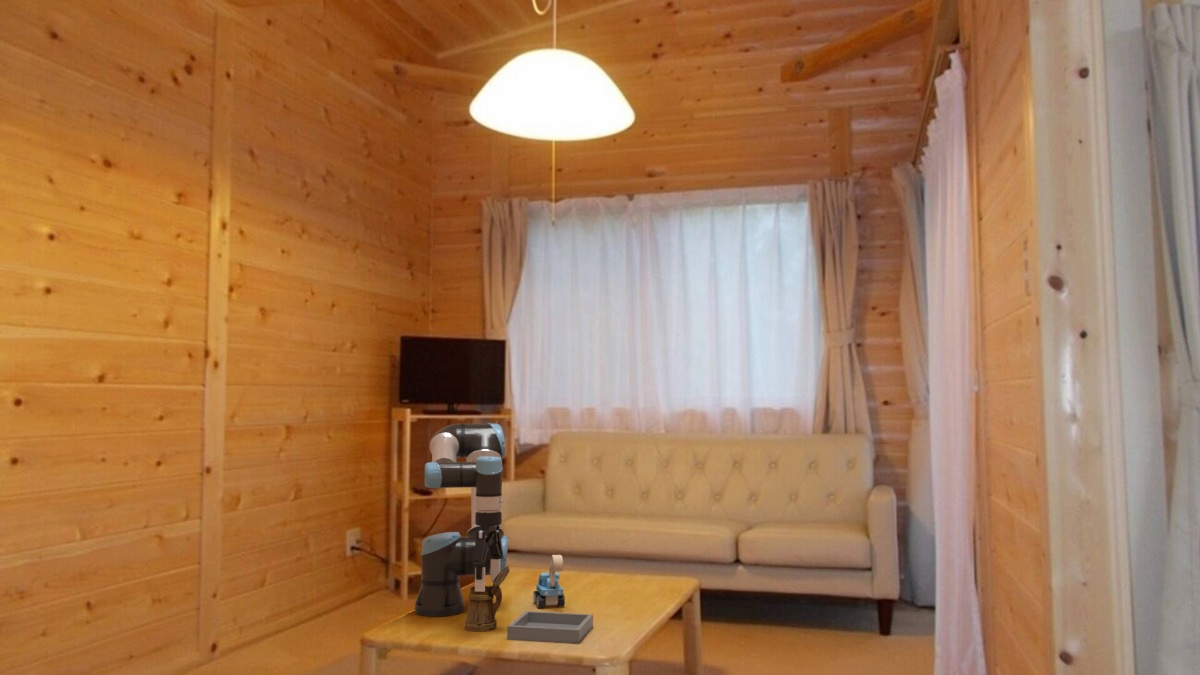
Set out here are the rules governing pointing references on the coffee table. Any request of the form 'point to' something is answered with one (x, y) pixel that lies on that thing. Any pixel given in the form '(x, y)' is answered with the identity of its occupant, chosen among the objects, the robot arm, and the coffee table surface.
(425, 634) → the coffee table surface
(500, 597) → the wooden mug
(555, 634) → the slate tray
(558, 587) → the toy excavator
